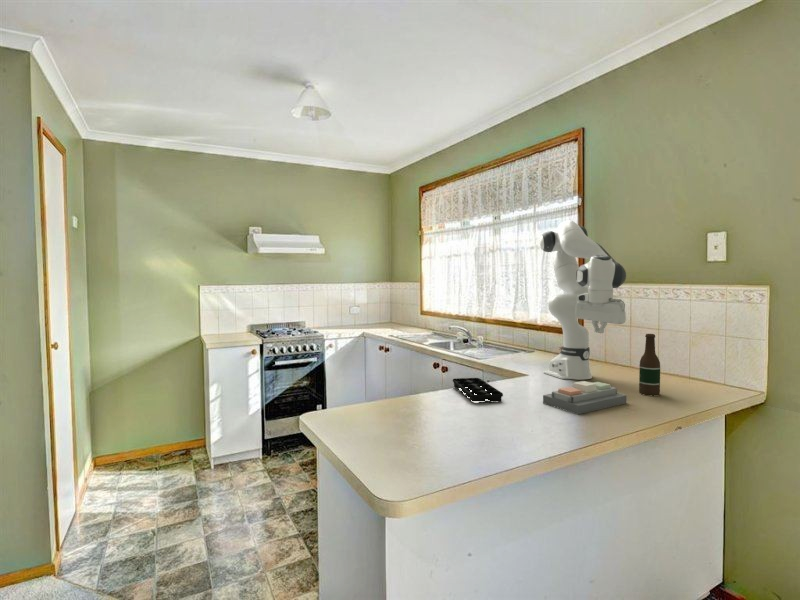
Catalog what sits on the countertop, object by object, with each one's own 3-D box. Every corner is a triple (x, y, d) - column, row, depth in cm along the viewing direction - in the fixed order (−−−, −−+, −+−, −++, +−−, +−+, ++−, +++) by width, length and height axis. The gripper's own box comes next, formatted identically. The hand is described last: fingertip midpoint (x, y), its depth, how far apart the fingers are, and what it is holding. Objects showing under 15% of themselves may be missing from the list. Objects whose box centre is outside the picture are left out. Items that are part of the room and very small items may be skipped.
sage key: (587, 391, 173) (587, 383, 172) (597, 389, 175) (597, 381, 175) (600, 394, 168) (600, 386, 168) (610, 392, 170) (610, 384, 170)
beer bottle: (655, 391, 184) (656, 332, 182) (664, 396, 176) (665, 335, 175) (635, 391, 184) (635, 332, 183) (643, 396, 177) (644, 335, 175)
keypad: (543, 403, 169) (543, 389, 168) (590, 393, 181) (590, 381, 181) (578, 414, 155) (578, 399, 154) (626, 403, 167) (626, 390, 167)
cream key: (573, 390, 169) (573, 382, 169) (583, 388, 171) (583, 380, 171) (585, 393, 164) (585, 385, 164) (596, 391, 167) (596, 383, 166)
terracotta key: (558, 396, 165) (558, 388, 165) (568, 394, 168) (568, 386, 168) (570, 400, 160) (570, 392, 160) (581, 398, 163) (581, 390, 163)
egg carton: (475, 384, 201) (475, 376, 201) (516, 401, 173) (516, 391, 173) (440, 388, 195) (440, 379, 194) (476, 406, 167) (476, 396, 167)
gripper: (630, 299, 166) (628, 336, 168) (584, 295, 184) (583, 328, 186) (619, 300, 164) (617, 337, 165) (573, 296, 181) (572, 329, 183)
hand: (599, 332), depth 175 cm, fingers closed
